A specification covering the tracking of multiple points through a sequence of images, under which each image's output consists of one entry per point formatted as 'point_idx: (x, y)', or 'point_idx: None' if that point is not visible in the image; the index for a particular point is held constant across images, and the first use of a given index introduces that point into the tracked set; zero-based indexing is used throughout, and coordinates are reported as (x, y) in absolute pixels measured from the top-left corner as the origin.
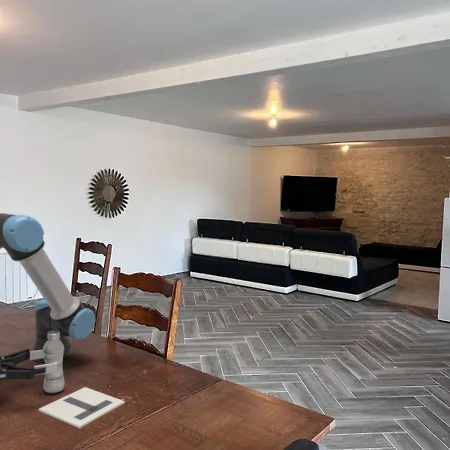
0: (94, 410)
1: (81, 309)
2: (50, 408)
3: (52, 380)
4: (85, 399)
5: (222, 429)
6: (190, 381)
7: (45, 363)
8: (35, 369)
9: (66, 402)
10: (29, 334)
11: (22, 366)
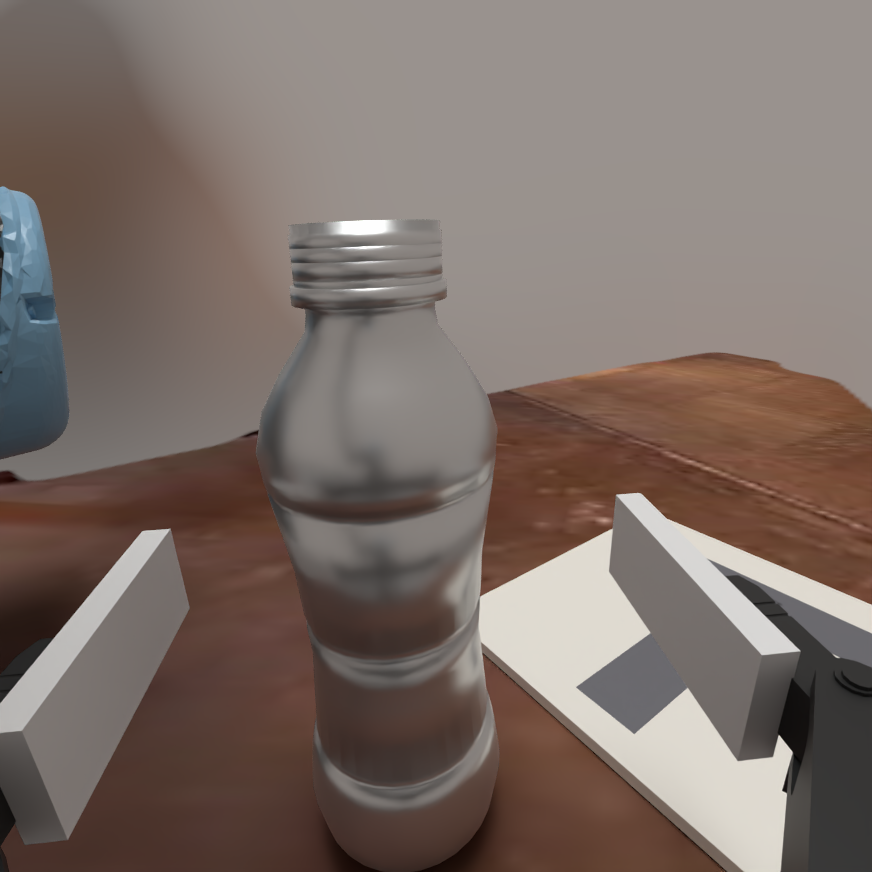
0: None
1: None
2: None
3: (485, 713)
4: (623, 618)
5: (793, 410)
6: (497, 415)
7: (418, 629)
8: (811, 666)
9: (669, 710)
10: None
11: (811, 865)
